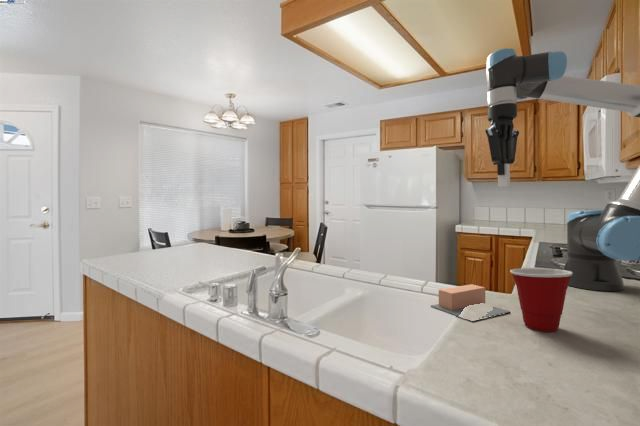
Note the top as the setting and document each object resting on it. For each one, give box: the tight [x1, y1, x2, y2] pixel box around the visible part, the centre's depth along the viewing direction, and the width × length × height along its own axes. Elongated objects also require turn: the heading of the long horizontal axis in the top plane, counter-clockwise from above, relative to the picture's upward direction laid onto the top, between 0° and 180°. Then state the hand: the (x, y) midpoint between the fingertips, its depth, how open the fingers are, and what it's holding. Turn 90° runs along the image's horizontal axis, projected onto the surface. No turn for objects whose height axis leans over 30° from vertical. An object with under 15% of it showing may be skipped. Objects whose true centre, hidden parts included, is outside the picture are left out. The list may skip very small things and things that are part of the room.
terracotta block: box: [438, 283, 486, 310], centre depth 82 cm, size 4×4×12 cm
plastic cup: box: [509, 267, 572, 333], centre depth 68 cm, size 11×11×12 cm
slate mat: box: [430, 303, 511, 319], centre depth 79 cm, size 13×12×1 cm
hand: (504, 186), depth 96 cm, fingers closed
